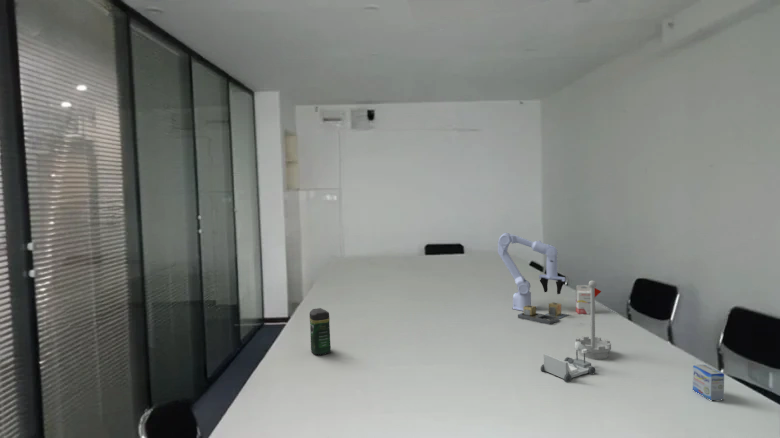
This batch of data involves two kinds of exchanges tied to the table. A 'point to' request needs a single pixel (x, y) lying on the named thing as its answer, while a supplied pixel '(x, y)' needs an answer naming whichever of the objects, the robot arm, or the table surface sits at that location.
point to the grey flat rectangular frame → (540, 318)
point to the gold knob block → (554, 309)
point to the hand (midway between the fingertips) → (552, 292)
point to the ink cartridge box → (583, 299)
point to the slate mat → (559, 316)
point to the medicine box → (708, 382)
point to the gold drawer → (530, 310)
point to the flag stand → (595, 344)
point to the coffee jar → (320, 331)
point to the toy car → (568, 365)
